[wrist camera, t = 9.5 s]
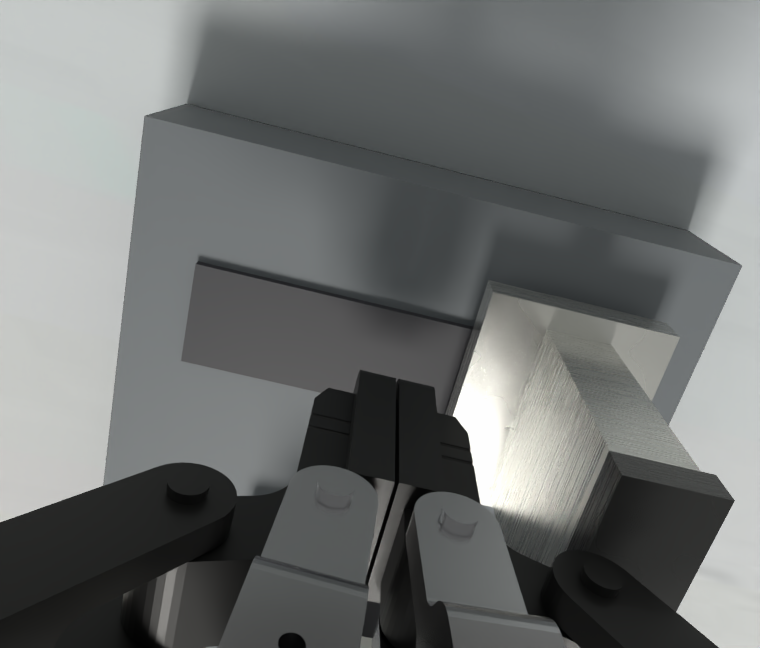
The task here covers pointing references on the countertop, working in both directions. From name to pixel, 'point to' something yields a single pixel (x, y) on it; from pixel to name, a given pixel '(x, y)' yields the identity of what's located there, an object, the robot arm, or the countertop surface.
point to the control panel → (346, 287)
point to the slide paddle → (583, 438)
